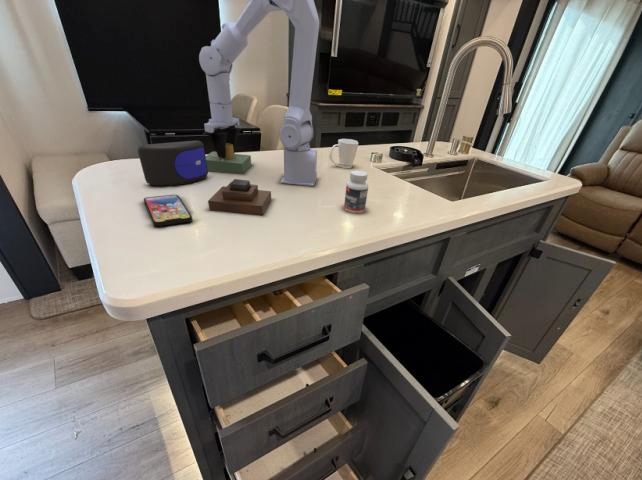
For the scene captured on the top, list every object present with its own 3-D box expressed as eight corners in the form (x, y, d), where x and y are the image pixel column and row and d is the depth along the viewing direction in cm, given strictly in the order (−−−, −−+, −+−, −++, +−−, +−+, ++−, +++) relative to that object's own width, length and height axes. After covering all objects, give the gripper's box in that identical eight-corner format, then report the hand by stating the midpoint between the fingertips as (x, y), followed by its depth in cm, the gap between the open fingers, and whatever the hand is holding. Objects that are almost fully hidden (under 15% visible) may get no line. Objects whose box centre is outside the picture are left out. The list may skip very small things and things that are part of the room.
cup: (359, 168, 110) (362, 143, 105) (334, 170, 106) (336, 144, 101) (349, 163, 115) (351, 138, 110) (324, 164, 111) (326, 138, 106)
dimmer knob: (224, 154, 99) (222, 140, 97) (237, 156, 98) (235, 143, 96) (215, 157, 96) (214, 143, 93) (228, 159, 95) (227, 145, 92)
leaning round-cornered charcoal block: (152, 190, 79) (141, 148, 73) (145, 184, 81) (134, 144, 76) (214, 180, 89) (209, 142, 83) (206, 175, 91) (201, 139, 85)
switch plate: (271, 199, 81) (270, 183, 78) (262, 215, 73) (261, 198, 70) (223, 195, 80) (221, 178, 78) (209, 210, 72) (206, 192, 70)
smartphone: (177, 194, 76) (193, 217, 66) (178, 198, 76) (193, 221, 67) (142, 197, 72) (153, 223, 63) (143, 201, 73) (154, 227, 63)
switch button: (250, 187, 76) (249, 180, 75) (246, 193, 73) (245, 185, 72) (235, 186, 76) (234, 178, 75) (230, 191, 73) (229, 183, 72)
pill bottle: (339, 208, 80) (343, 171, 75) (353, 203, 83) (358, 168, 78) (355, 215, 77) (359, 177, 72) (369, 210, 80) (374, 174, 75)
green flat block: (251, 165, 103) (250, 154, 101) (242, 174, 95) (241, 163, 93) (213, 161, 103) (212, 150, 101) (202, 170, 95) (200, 158, 93)
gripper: (222, 99, 95) (227, 148, 103) (191, 103, 83) (199, 158, 92) (244, 102, 93) (247, 152, 102) (215, 106, 82) (221, 162, 90)
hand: (226, 155), depth 97 cm, fingers closed on dimmer knob, 4 cm apart
